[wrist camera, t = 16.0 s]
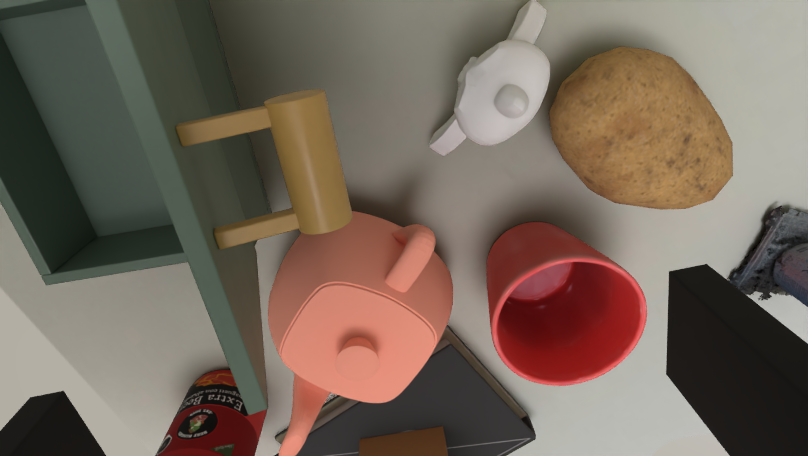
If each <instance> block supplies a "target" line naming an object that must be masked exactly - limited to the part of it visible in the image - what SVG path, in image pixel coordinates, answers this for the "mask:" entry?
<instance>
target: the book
mask: <svg viewBox="0 0 808 456" xmlns="http://www.w3.org/2000/svg"><path fill="white" fill-rule="evenodd" d="M441 426H443V429H444V435H445V441H446V447H447V453H448V456H506V455H508V454H510V453H512V452H513V451H515V450H517V449H519V448H521V447H522V446H524V445H526V444H528V443H530V442H531V441H533V440H535V439H536V435H535V431H534V428H533V426H532V423H531V421H530V418H529V417H528V415H527V413H526V412H525V411H524V410H523V409H522V408H521V407H520V406H519V405H518V403H517V402H516V401H515V400H514V399H513V398H512V397H511V396H510V395H509V393H508V392H507V391H506V390H505V389H504V388H503V387H502V386H501V385H500V384H499V382H498V381H497V380H496V379H495V378H494V377H493V376H492V375H491V374H490V372H489V371H488V370H487V369H486V368H485V367H484V366H483V365H482V364H481V363H480V361H479V360H478V359H477V358H476V357H475V356H474V355H473V354H472V353H471V352H470V350H469V349H468V348H467V347H466V346H465V345H464V344H463V343H462V342H461V340H460V339H459V338H458V337H457V336H456V335H455V334H454V333H453V332H452V331H451V329H450V328H449V327H447V326H446V328H445V330H444V332H443V334H442V336H441V338H440V340H439V342H438V344H437V345H436V347H435V349H434V351H433V352H432V354H431V356H430V357H429V359H428V360H427V362H426V363H425V365H424V366H423V367H422V369H421V370H420V371H419V373H418V374H417V375H416V376H415V377H414V379H413V380H412V381H411V382H410V384H409V385H408V386H407V387H406V388H405V389H404V390H403V391H402V392H401V393H400V394H399V395H398V396H397V397H396V398H394V399H392V400H391V401H388V402H384V403H368V402H362V401H357V400H353V399H350V398H346V397H343V396H340V395H338V396H337V397H335V398H334V399H332V400H331V401H329V402H328V403H326V404H325V405H323V406H322V408H321V410H320V412H319V414H318V416H317V418H316V420H315V422H314V424H313V426H312V428H311V430H310V432H309V434H308V436H307V438H306V441H305V443H304V444H303V446H302V448H301V449H300V451H299V452H298V453H297V454H296V455H295V456H359V442H360V439H363V438H370V437H376V436H383V435H389V434H396V433H402V432H409V431H415V430H421V429H428V428H434V427H441ZM287 431H288V429H286V430H285V431H283V432H282V433H280V434H278V435H277V436H276V437H275V440H276V441H278V442H279V443H280V444H282V442H283V440H284V438H285V435H286V433H287ZM275 456H279V453H278V454H276V455H275Z"/></svg>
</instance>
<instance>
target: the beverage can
mask: <svg viewBox="0 0 808 456" xmlns="http://www.w3.org/2000/svg"><path fill="white" fill-rule="evenodd" d="M781 207H782V205H781V206H779V207H777V208H775V209H773V210H772V211H770V212H769V214H768V216H767V221H765V226H766V231H765V232H764V233H765V234H764V235H763V238H762V239H761V242H760V243H759V244H758V245H759V246H758V245H756V247H757V248H756V249H755V248H754V251H750V254H749V256H748V257H746V258H745V259H746V260H747V261H748V264H747V265H742V269H741V270H739V271H735V272H734V273H733V274H732V275H731V278H730V281H729V282H730V283H731V284H733V285H735V286H737V287H738V289H739V290H740V291H741V292H743V293H744V294H746V295H747V294H748V295H751V294H753V293H754V292H755V291H758V292H762V293H763V296H762V295H761V296H762V298H763V299H766V300H768V298H770V297H772V296H771V295H769V293H770V292H772V293H774V294H777V293H778V294H781V295H782V294H783V295H784V294H785V295H786V296H787V295H791V296H794V297H795V298H796V299H798V300H799V301H800V302H802V303H803V304H804V305H806V306H807V307H808V213H805V212H796V211H797V210H794V209H789V210H788V211H789V212H788V213H786V212H785V214H782V213H781V212H780V211H781V210H780V209H782V208H783V207H782V208H781ZM783 209H784V208H783ZM798 213H800V214H799V215H798V216H796V214H798ZM781 214H782V216H780V215H781ZM754 287H755V288H754ZM753 295H754V294H753ZM761 296H760V297H761ZM758 299H759V298H758ZM760 299H761V298H760ZM763 299H761V300H763Z"/></svg>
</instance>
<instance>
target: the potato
mask: <svg viewBox="0 0 808 456" xmlns="http://www.w3.org/2000/svg"><path fill="white" fill-rule="evenodd" d="M549 118H550V126H551V134H552V139H553V141H554V143H555V145H556V147H557V148H558V150H559V152H560V154H561V156H562V158H563V159H564V160H565V161H566V163H567V164H568V165H569V166H570V167H571V168H572V170H573V171H574V172H575V173H576V174H577V176H578V177H579V178H580V179H581V180H582V181H583V183H584V184H585V185H586V186H587V187H588V188H589V189H590V190H592V191H593V192H595V193H597V194H598V195H600V196H602V197H604V198H606V199H608V200H610V201H612V202H614V203H619V204H626V205H633V206H640V207H648V208H655V209H686V208H690V207H693V206H695V205H698V204H701V203H704V202H707V201H710V200H713V199H714V198H715V196H716V195H717V194H718V193H719V192H720V190H721V189H722V188H723V187H724V185H725V184H726V183H727V182H728V181H729V179H730V178H731V177H732V176H733V157H732V141H731V139H730V137H729V135H728V133H727V131H726V129H725V126H724V124H723V122H722V120H721V118H720V117H719V115H718V114H717V112H716V111H715V109H714V108H713V106H712V105H711V103H710V101H709V100H708V99H707V97H706V96H705V94H704V93H703V92H702V90H701V89H700V88H699V86H698V85H697V83H696V82H695V81H694V79H693V78H692V77H691V75H690V74H689V73H688V72H687V71H686V70H684V69H683V68H682V67H681V66H680V65H679V64H678V63H677V62H676V61H675V60H674V59H673V58H671V57H669V56H666V55H663V54H660V53H657V52H654V51H651V50H648V49H639V48H630V47H618V48H615V49H612V50H610V51H607V52H604V53H601V54H598V55H595V56H592V57H590V58H588V59H587V60H586V61H584V62H583V63H582V64H581V65H580V67H579V68H578V69H576V70H575V71H574V72H573V73H572V74H571V75H570V76H569V77H567V78H566V79H565V80H564V81H563V82H562V84H561V86H560V88H559V91H558V93H557V95H556V98H555V100H554V102H553V105H552V107H551V109H550V112H549Z"/></svg>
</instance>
